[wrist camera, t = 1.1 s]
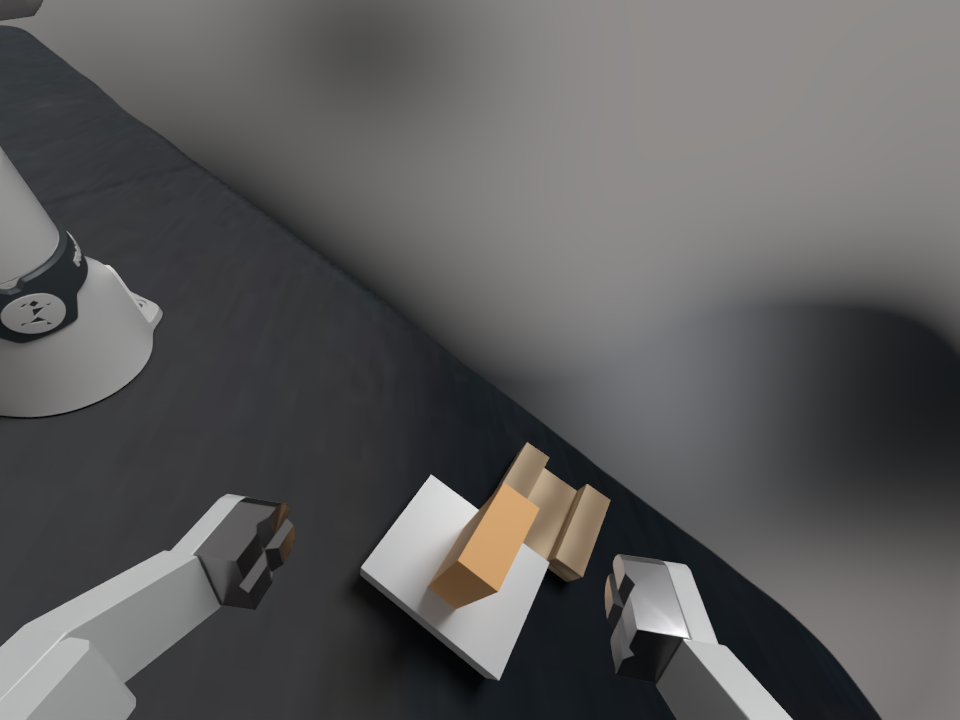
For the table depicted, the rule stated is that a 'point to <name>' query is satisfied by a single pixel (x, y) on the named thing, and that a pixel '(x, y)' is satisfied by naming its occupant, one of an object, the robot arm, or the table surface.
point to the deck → (417, 557)
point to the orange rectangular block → (485, 549)
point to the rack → (557, 514)
